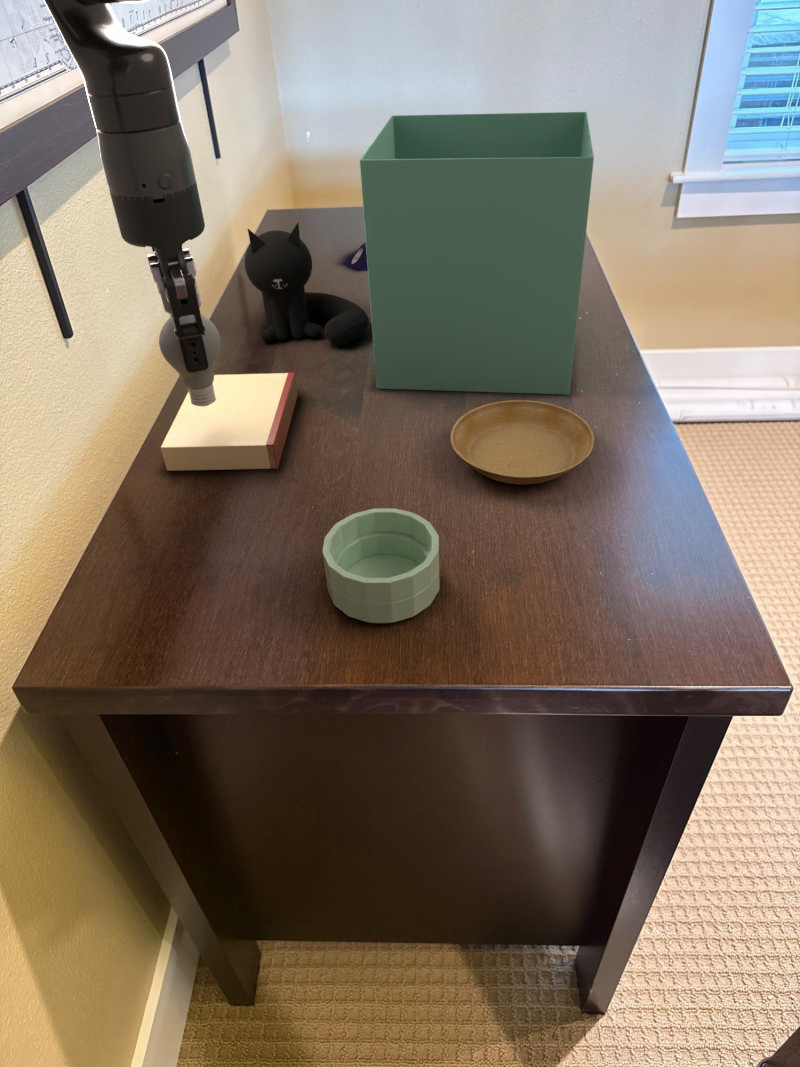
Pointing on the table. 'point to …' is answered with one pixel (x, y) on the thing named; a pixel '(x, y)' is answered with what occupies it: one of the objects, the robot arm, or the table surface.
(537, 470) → the plant saucer
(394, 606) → the bowl
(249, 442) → the book
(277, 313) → the figurine
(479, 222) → the box
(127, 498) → the table surface
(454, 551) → the table surface
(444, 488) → the table surface
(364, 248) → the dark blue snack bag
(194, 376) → the light bulb
